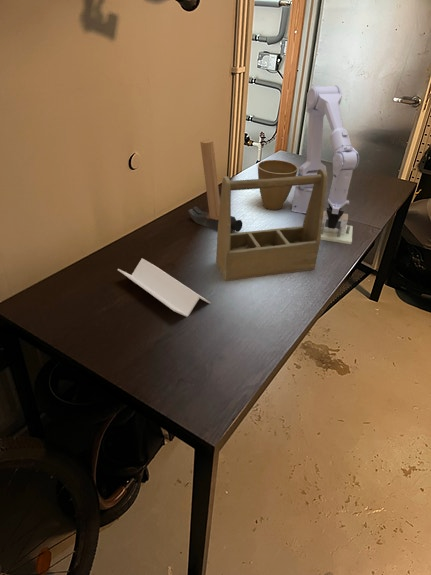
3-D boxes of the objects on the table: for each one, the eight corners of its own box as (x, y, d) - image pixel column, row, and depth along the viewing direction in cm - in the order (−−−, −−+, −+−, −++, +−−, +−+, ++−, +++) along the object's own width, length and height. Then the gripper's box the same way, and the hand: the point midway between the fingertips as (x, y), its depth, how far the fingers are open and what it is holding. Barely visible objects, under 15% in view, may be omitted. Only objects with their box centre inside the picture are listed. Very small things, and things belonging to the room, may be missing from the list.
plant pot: (292, 215, 162) (298, 175, 152) (252, 212, 163) (256, 171, 154) (291, 199, 174) (297, 160, 164) (255, 196, 175) (258, 157, 166)
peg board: (306, 237, 149) (308, 228, 147) (310, 222, 158) (312, 213, 156) (351, 244, 146) (353, 235, 144) (352, 228, 155) (354, 219, 153)
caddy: (224, 282, 125) (230, 184, 108) (215, 262, 134) (218, 169, 116) (315, 270, 132) (334, 176, 114) (300, 252, 140) (316, 163, 123)
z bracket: (143, 282, 131) (154, 265, 131) (199, 322, 117) (211, 302, 117) (117, 269, 121) (129, 250, 121) (174, 311, 107) (187, 290, 107)
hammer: (190, 226, 157) (177, 141, 142) (198, 221, 160) (187, 138, 146) (234, 234, 145) (225, 143, 131) (243, 229, 149) (235, 139, 134)
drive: (317, 231, 150) (320, 215, 147) (319, 225, 154) (322, 210, 150) (344, 235, 148) (347, 219, 145) (344, 229, 152) (348, 214, 149)
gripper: (351, 197, 135) (342, 235, 143) (352, 181, 147) (344, 217, 155) (329, 194, 137) (321, 232, 145) (331, 178, 148) (324, 214, 156)
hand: (331, 224), depth 150 cm, fingers open, 5 cm apart
